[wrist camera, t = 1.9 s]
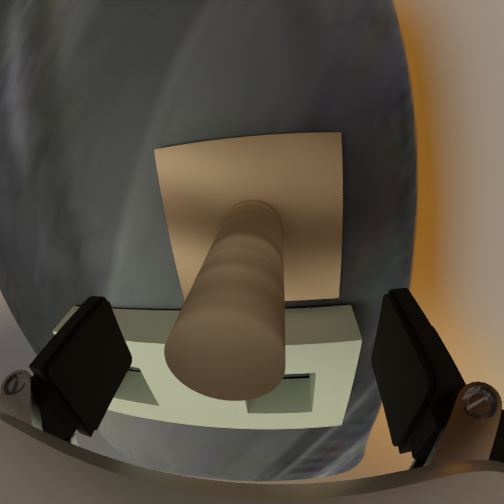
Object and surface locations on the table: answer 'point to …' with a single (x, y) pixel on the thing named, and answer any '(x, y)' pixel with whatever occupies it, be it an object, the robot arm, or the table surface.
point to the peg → (235, 311)
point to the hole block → (254, 410)
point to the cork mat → (263, 189)
